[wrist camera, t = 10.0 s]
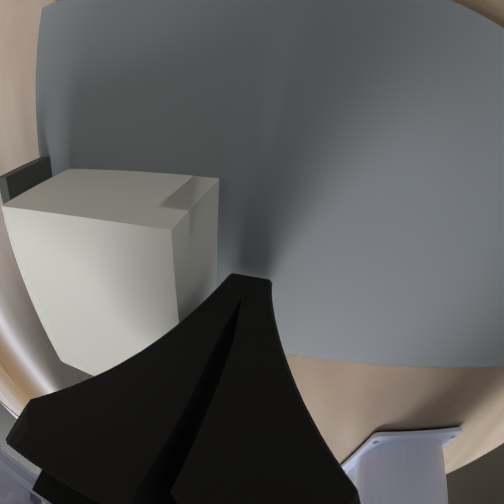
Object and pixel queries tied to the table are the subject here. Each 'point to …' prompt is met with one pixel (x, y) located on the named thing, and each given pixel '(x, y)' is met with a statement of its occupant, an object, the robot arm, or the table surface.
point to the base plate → (306, 154)
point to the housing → (114, 258)
